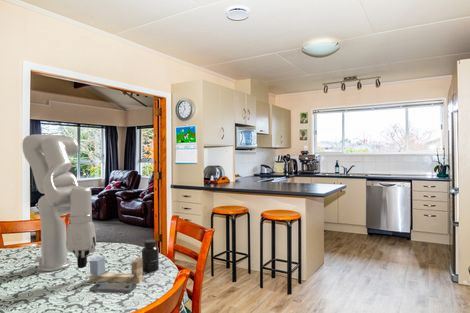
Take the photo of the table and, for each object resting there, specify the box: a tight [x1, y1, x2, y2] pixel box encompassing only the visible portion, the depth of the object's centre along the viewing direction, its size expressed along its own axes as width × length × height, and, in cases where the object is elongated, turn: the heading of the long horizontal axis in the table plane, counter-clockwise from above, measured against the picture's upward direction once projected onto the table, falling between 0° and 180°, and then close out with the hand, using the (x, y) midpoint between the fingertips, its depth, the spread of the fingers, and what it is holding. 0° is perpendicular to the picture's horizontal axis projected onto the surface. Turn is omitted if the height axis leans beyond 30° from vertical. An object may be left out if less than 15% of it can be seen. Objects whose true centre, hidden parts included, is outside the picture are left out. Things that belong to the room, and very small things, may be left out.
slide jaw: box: [84, 256, 106, 280], centre depth 119 cm, size 3×10×6 cm, turn 172°
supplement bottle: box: [141, 239, 160, 273], centre depth 131 cm, size 7×7×12 cm
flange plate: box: [89, 282, 137, 294], centre depth 112 cm, size 15×5×1 cm, turn 82°
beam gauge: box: [88, 257, 144, 284], centre depth 118 cm, size 20×10×8 cm, turn 82°
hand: (82, 266), depth 122 cm, fingers closed
